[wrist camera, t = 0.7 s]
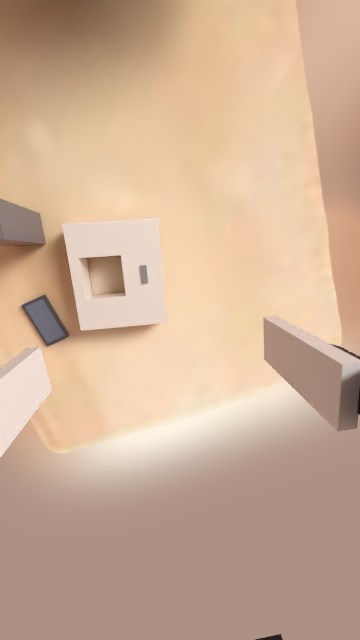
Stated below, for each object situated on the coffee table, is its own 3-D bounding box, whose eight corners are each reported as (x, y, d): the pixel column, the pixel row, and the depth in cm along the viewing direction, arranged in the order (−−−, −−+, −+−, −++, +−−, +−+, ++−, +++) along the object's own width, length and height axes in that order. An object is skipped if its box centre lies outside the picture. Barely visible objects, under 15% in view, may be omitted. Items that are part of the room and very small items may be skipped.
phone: (24, 304, 38) (21, 305, 36) (46, 294, 38) (43, 295, 36) (49, 343, 39) (47, 346, 38) (70, 334, 39) (67, 336, 38)
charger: (9, 215, 34) (-52, 198, 24) (39, 213, 34) (-8, 195, 24) (15, 245, 35) (-40, 241, 25) (45, 243, 35) (2, 238, 25)
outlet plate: (72, 227, 35) (61, 223, 31) (157, 221, 36) (158, 217, 32) (88, 323, 39) (80, 331, 35) (166, 316, 40) (167, 323, 35)
